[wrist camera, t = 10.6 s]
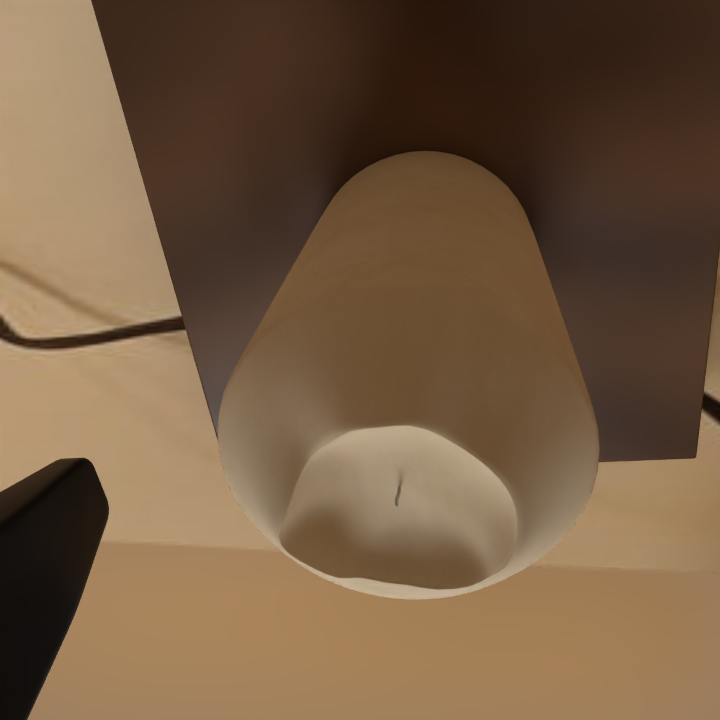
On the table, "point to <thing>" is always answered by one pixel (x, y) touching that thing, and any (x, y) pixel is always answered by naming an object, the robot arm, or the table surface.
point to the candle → (413, 391)
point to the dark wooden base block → (454, 136)
